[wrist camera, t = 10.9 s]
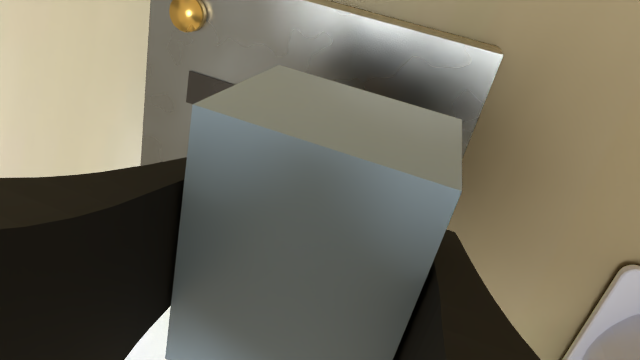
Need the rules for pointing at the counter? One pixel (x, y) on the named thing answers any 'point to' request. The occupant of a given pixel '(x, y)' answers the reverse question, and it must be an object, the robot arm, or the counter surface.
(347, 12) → the panel
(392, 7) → the counter surface
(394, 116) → the cap
